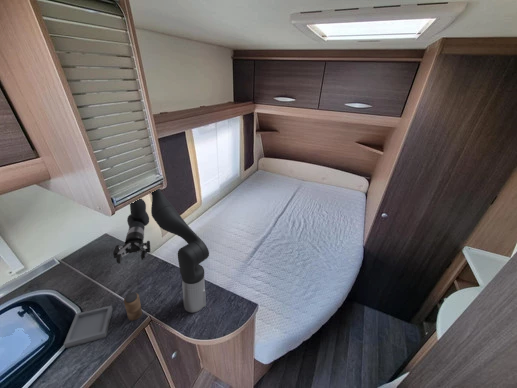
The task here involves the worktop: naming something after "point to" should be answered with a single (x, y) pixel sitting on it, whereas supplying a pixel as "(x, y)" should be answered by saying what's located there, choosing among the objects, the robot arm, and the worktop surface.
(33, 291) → the worktop surface
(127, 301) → the wooden cylinder
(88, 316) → the grey square tray
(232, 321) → the worktop surface
